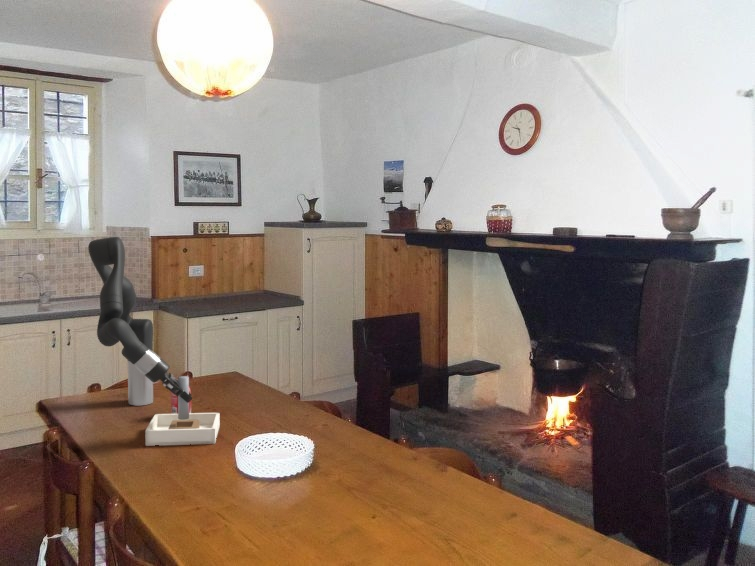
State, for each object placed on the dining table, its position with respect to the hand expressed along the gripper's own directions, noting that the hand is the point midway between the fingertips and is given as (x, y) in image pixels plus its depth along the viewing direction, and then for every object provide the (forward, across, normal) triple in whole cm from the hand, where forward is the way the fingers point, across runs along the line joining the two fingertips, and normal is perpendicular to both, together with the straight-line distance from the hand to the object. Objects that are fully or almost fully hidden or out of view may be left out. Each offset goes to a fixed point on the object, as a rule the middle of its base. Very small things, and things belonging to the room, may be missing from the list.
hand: (189, 398), depth 234 cm
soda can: (+8, +22, +10) cm, 26 cm away
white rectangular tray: (+8, 0, +10) cm, 13 cm away
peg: (+3, 0, +6) cm, 7 cm away
